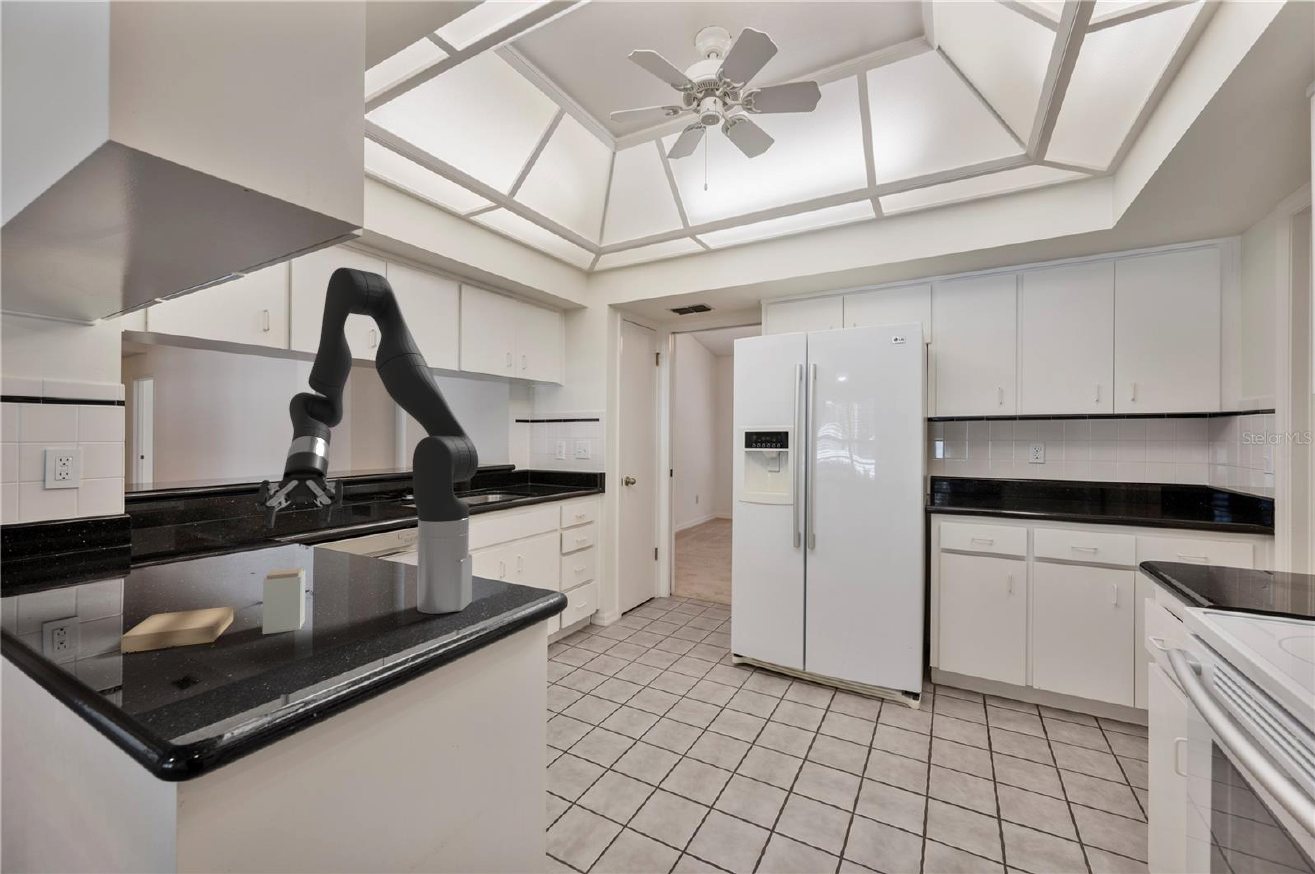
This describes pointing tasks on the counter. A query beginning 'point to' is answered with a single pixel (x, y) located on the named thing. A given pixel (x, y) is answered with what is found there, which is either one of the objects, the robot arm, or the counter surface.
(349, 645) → the counter surface
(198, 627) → the base slab
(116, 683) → the counter surface
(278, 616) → the pale green upright block
